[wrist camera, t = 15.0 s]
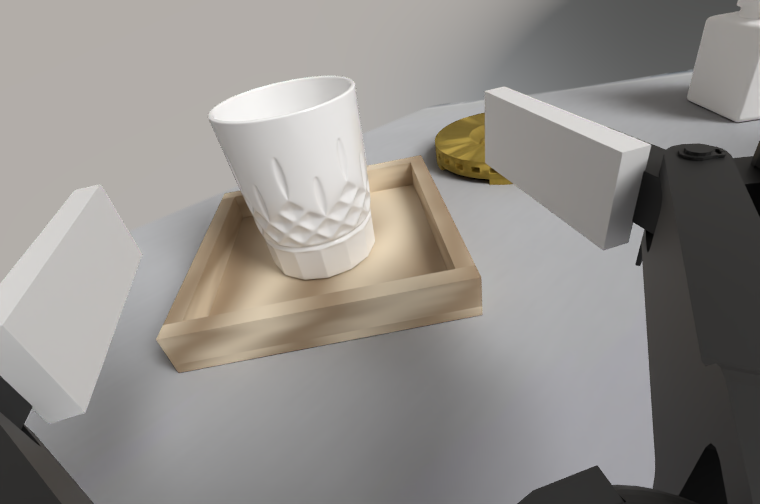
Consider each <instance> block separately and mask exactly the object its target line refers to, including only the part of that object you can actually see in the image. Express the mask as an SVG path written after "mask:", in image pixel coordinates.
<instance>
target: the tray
mask: <svg viewBox="0 0 760 504" xmlns="http://www.w3.org/2000/svg"><path fill="white" fill-rule="evenodd" d="M367 174H368V180H369V188H370V197H371V202H370V209H371V217H372V223H373V230H374V236H375V244H374V246H373V248H372V250H371V252H370V254H369V256H368V257H367V258H365V259H364V260H363V261H362V262H360V263H359V264H358V265H356V266H355V267H354V268H352V269H351V270H348V271H345V272H343V273H340V274H338V275H335V276H332V277H329V278H321V279H310V280H303V279H299V278H295V277H291V276H287V275H285V274H284V273H283V272H282V271H281V270H280V269H279V267H278V266H277V265H276V264H275V262H274V260H273V257H272V255H271V253H270V250H269V248H268V246H267V243H266V241H265V239H264V237H263V236H262V234H261V232H260V231H259V229H258V227H257V225H256V223H255V221H254V218H253V215H252V213H251V211H250V209H249V208H248V206H247V204H246V202H245V199H244V197H243V195H242V193H241V191H236V192H230V193H225V194H224V196H223V198H222V201H221V203H220V205H219V207H218V209H217V211H216V213H215V215H214V218H213V220H212V222H211V224H210V226H209V228H208V230H207V232H206V235H205V237H204V239H203V241H202V243H201V245H200V247H199V250H198V252H197V254H196V256H195V258H194V260H193V262H192V264H191V267H190V269H189V271H188V273H187V275H186V277H185V279H184V281H183V284H182V286H181V288H180V290H179V292H178V294H177V296H176V299H175V301H174V303H173V305H172V307H171V309H170V311H169V313H168V316H167V318H166V320H165V322H164V324H163V326H162V328H161V330H160V333H159V335H158V337H157V339H156V340H157V342H158V343H159V345H160V346H161V348H162V349H163V351H164V352H165V353H166V355H167V356H168V358H169V359H170V361H171V362H172V364H173V365H174V367H175V368H176V370H177V371H178V373H181V372H186V371H191V370H196V369H202V368H207V367H212V366H217V365H223V364H228V363H233V362H238V361H243V360H249V359H254V358H259V357H264V356H270V355H275V354H280V353H285V352H290V351H296V350H301V349H306V348H311V347H317V346H322V345H327V344H332V343H337V342H343V341H348V340H353V339H358V338H364V337H369V336H374V335H379V334H384V333H390V332H395V331H400V330H405V329H411V328H416V327H421V326H426V325H431V324H437V323H442V322H447V321H452V320H458V319H463V318H468V317H473V316H478V315H482V286H481V276H480V274H479V272H478V270H477V268H476V266H475V264H474V262H473V260H472V258H471V255H470V253H469V251H468V249H467V247H466V245H465V243H464V241H463V239H462V237H461V235H460V233H459V231H458V229H457V227H456V225H455V223H454V221H453V219H452V217H451V215H450V213H449V211H448V209H447V207H446V205H445V203H444V201H443V199H442V197H441V195H440V193H439V191H438V189H437V187H436V185H435V183H434V181H433V179H432V177H431V175H430V173H429V171H428V169H427V167H426V165H425V162H424V160H423V158H422V156H421V155H420V156H415V157H410V158H404V159H399V160H394V161H389V162H384V163H379V164H374V165H369V166H367Z"/></svg>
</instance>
